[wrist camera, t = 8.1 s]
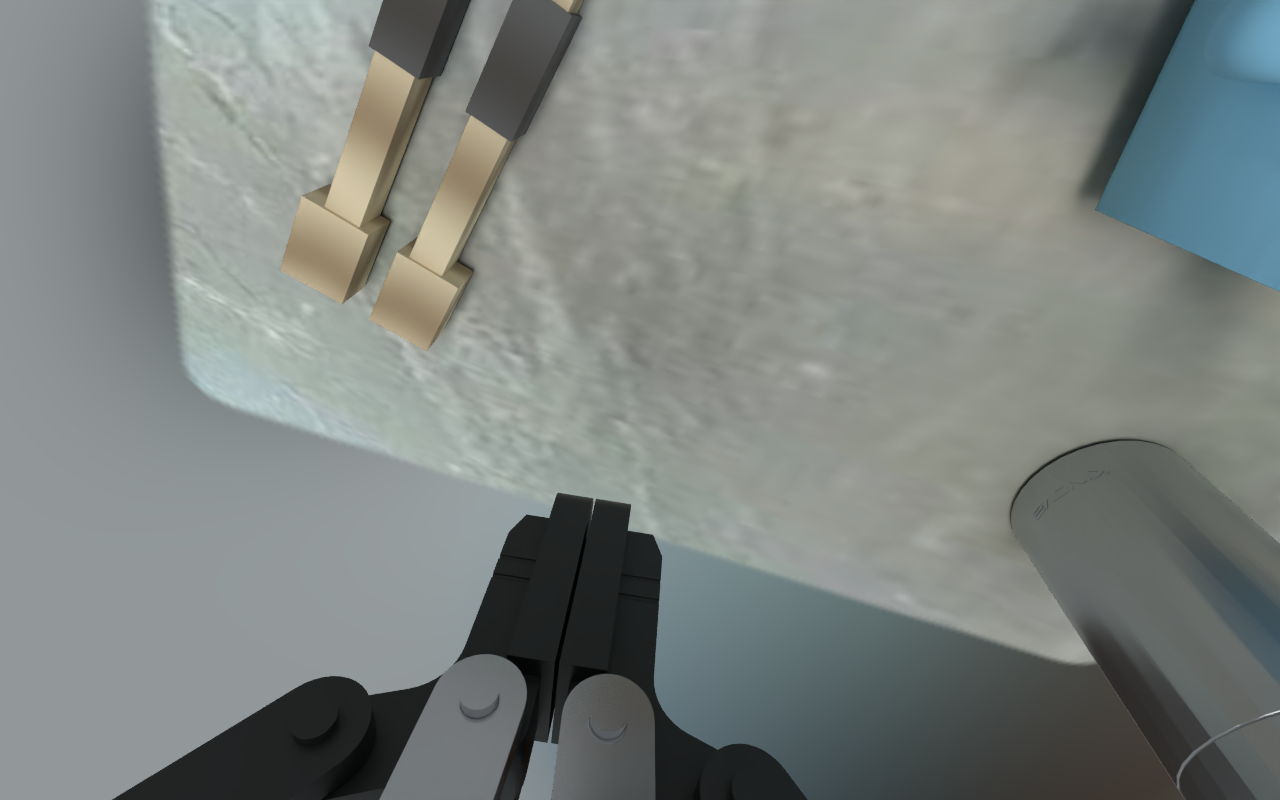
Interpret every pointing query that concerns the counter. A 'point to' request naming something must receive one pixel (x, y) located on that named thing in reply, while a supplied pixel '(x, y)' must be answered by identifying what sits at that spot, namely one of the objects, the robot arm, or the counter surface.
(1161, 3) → the counter surface
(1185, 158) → the teakettle
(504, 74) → the tong arm
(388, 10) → the tongs frame
